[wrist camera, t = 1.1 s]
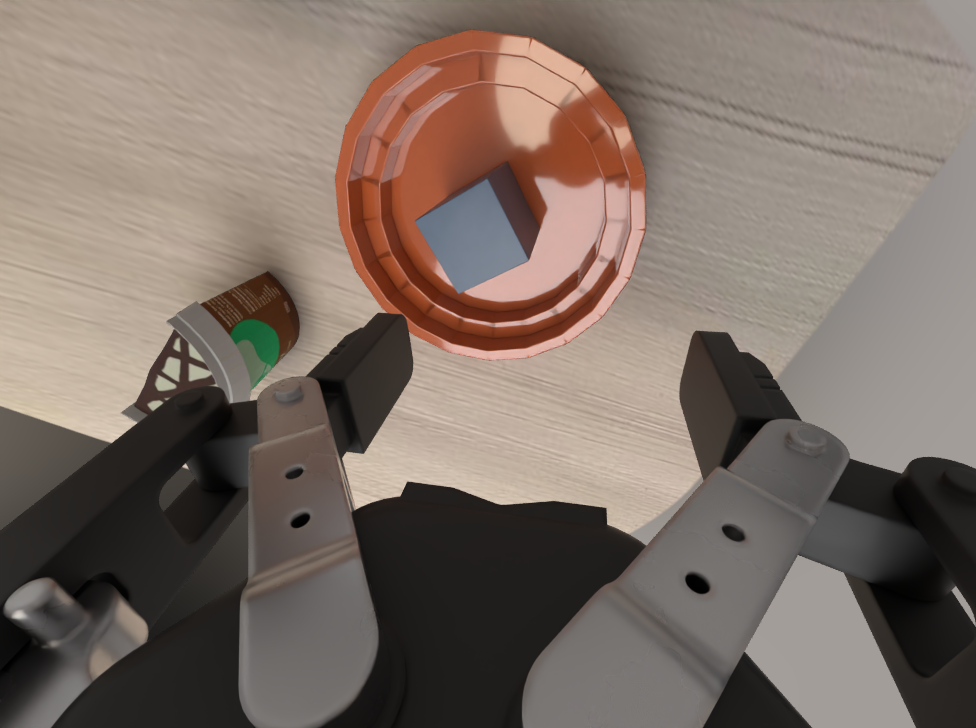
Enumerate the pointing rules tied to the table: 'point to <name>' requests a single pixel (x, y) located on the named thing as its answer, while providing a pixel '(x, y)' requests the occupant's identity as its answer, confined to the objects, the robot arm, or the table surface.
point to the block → (481, 229)
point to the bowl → (471, 154)
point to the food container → (223, 344)
